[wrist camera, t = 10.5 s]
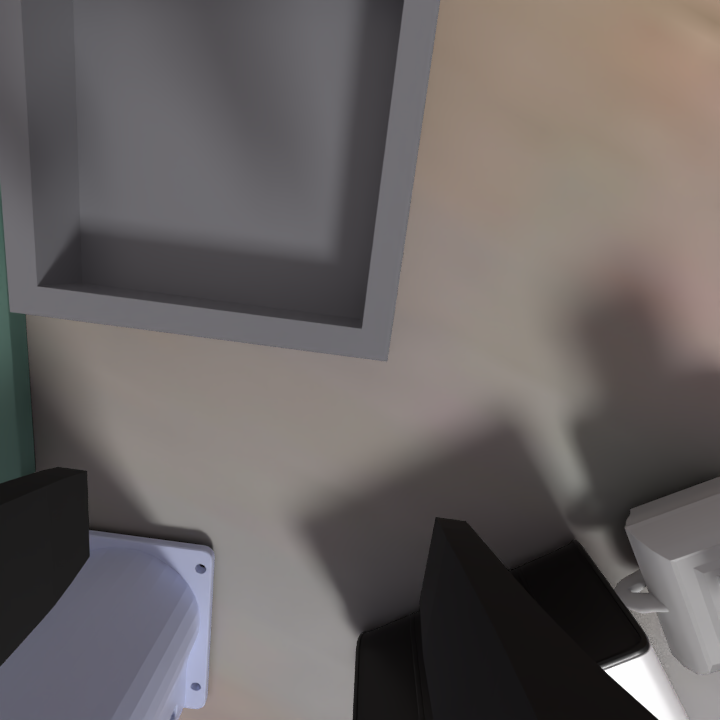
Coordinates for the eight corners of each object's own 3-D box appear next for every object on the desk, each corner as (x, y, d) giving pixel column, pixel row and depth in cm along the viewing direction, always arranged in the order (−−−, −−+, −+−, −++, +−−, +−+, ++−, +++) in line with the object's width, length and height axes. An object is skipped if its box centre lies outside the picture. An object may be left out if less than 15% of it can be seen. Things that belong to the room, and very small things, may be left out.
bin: (385, 344, 17) (387, 361, 14) (72, 303, 17) (9, 312, 14) (439, -32, 14) (456, -109, 11) (57, -80, 14) (-26, -169, 11)
